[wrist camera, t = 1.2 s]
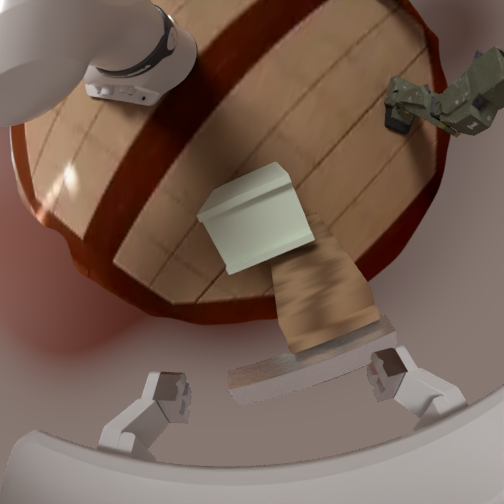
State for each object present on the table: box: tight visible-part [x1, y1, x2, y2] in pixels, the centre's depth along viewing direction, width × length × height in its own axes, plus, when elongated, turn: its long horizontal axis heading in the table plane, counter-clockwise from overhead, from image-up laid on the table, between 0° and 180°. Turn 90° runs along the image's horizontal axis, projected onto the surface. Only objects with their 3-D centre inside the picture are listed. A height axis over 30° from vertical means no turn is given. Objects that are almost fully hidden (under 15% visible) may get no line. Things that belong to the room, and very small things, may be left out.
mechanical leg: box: [384, 46, 504, 137], centre depth 26 cm, size 14×7×30 cm, turn 170°
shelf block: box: [196, 161, 315, 275], centre depth 40 cm, size 12×9×16 cm
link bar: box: [227, 314, 397, 405], centre depth 27 cm, size 19×4×3 cm, turn 115°
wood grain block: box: [270, 213, 380, 386], centre depth 39 cm, size 10×12×27 cm
